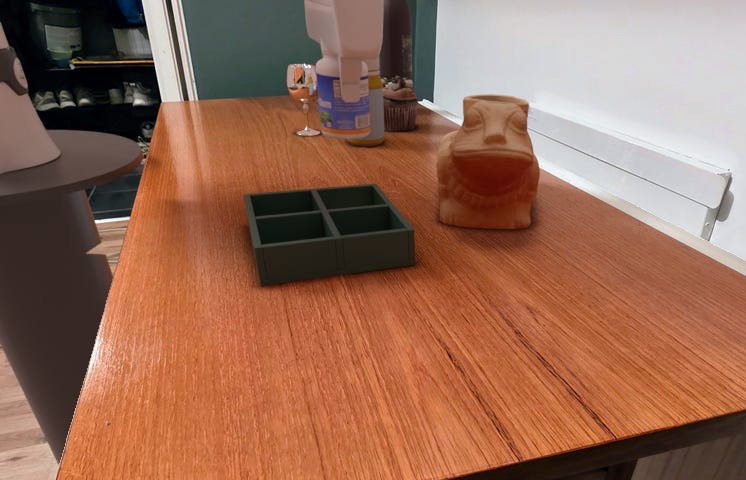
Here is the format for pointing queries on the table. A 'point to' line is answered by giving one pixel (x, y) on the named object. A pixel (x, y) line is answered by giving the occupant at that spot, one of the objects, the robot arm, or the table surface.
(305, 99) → the wineglass
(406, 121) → the cupcake
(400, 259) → the organiser
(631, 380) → the table surface
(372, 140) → the bottle
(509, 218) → the ceramic vessel
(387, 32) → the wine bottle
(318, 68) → the pill bottle
